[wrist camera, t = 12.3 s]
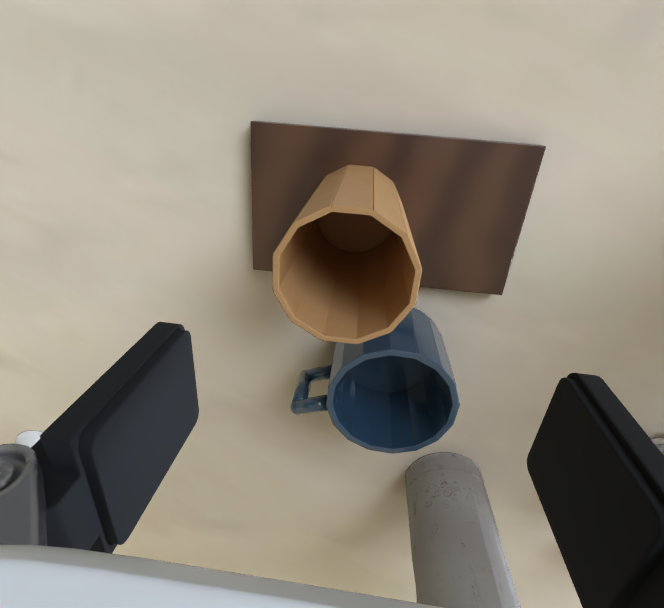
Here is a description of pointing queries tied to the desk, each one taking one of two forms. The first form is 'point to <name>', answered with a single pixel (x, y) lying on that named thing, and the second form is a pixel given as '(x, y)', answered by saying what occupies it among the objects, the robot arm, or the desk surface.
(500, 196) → the serving board
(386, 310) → the paper cup
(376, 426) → the mug
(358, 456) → the desk surface
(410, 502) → the thermos bottle
